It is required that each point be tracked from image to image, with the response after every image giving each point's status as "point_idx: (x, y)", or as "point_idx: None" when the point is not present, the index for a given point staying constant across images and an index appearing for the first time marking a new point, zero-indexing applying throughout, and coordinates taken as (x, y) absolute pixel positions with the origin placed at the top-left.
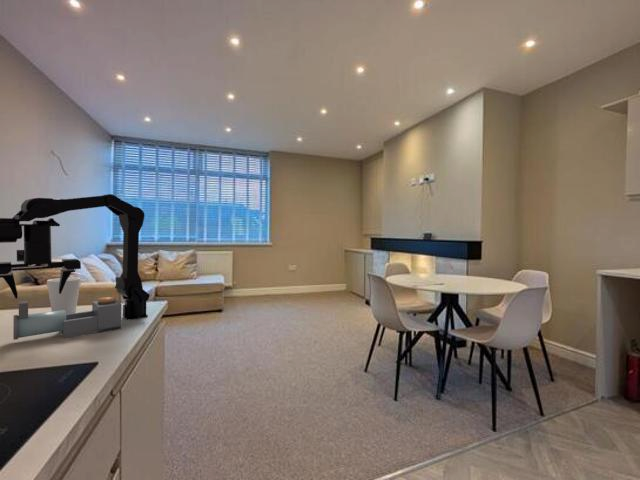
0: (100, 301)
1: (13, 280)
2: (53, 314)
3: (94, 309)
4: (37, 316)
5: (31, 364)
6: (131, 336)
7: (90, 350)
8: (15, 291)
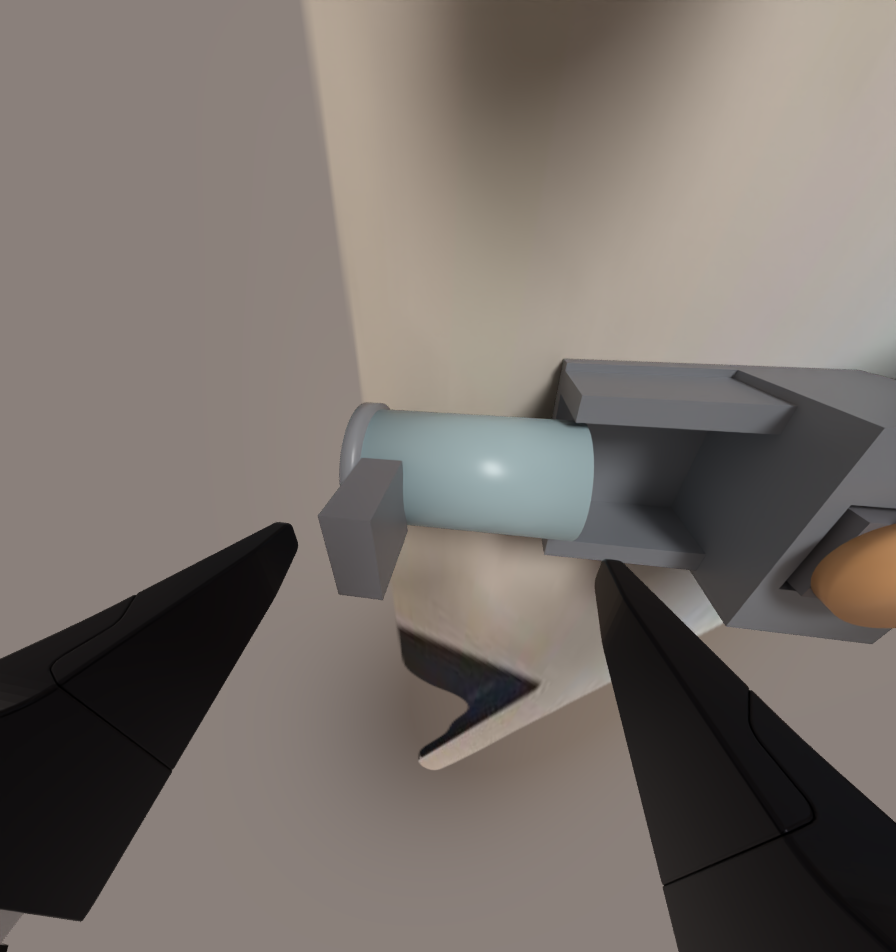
0: (818, 594)
1: (152, 791)
2: (516, 532)
3: (768, 494)
4: (446, 526)
5: (436, 625)
6: (697, 615)
7: (554, 633)
8: (252, 622)
